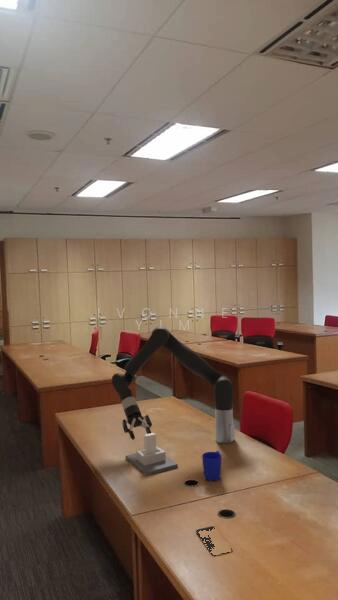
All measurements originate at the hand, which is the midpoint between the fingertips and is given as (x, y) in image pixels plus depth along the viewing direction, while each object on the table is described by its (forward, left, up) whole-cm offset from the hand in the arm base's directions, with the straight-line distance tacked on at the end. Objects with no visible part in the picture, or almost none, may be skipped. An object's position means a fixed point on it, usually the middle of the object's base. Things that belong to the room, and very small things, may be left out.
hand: (141, 437), depth 221 cm
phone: (-56, +52, -10) cm, 77 cm away
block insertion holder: (-7, +5, -10) cm, 13 cm away
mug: (-39, +7, -10) cm, 41 cm away
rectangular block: (-7, +5, -8) cm, 12 cm away
